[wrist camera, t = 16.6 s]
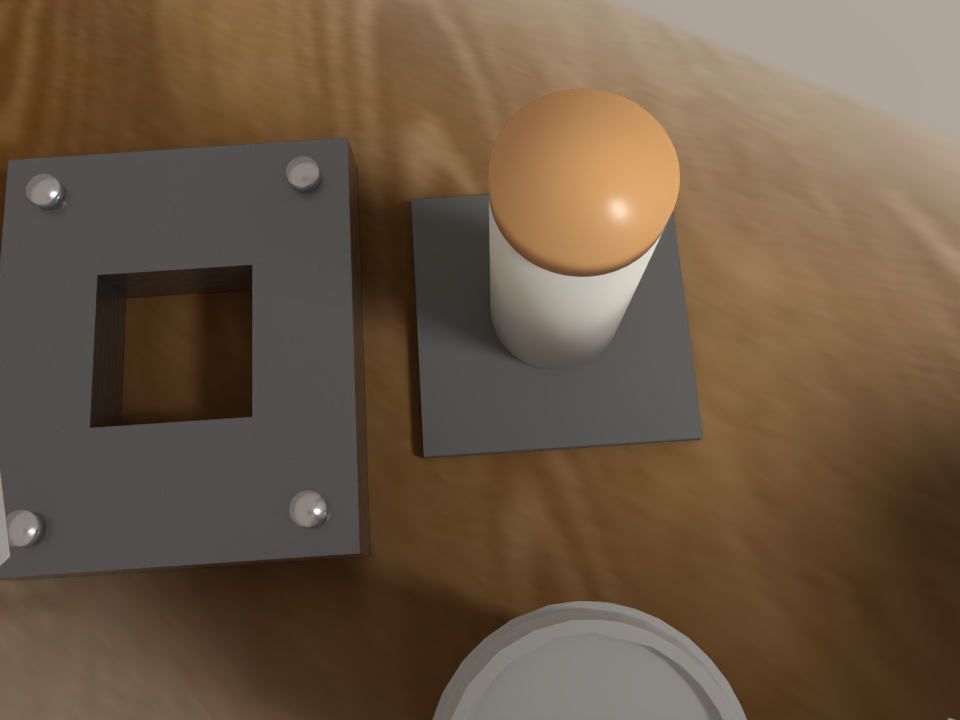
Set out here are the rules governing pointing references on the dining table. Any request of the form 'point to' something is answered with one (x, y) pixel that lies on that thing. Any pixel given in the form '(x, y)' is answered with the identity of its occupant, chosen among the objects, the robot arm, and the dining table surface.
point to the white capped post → (574, 221)
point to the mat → (533, 391)
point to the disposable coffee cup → (588, 670)
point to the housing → (100, 352)
